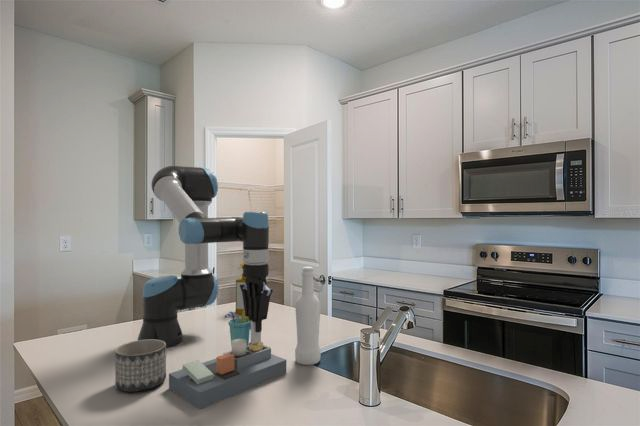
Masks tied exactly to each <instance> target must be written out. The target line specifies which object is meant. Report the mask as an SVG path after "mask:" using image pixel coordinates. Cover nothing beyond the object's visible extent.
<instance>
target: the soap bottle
mask: <svg viewBox="0 0 640 426" xmlns="http://www.w3.org/2000/svg"><path fill="white" fill-rule="evenodd" d="M244 264H245V263H244V262H243V263H241V264H240V265H239V267H238V268H237V269H238V270H239V269H241V270H243V265H244ZM245 279H246V277H244V276H243V273H241V277H239V278H238V279H235V314H236V315H242V312H243V311H244V304H243V296H242V291H241V288H240V285H241V284H244V283H245Z"/></svg>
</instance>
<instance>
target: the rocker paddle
mask: <svg viewBox="0 0 640 426" xmlns="http://www.w3.org/2000/svg"><path fill="white" fill-rule="evenodd" d="M202 363H203V362H201V361H200V360H199V359H196V360H193V361H189V362H186V363H183V364H182V369H183V370H184V371H185V372H186V373H187V374H188V375H189V376H190V377H191V378H192V379H193V380H194V381H195V382H196V383H197V384H200V383H203V382H206V381H209V380H211V379H213V375H214V374H213V373H212V372H211V371H210V370H209V369H208V368H207V367H205V366H204V365H203V364H202ZM182 369H181V370H182Z"/></svg>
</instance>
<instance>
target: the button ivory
mask: <svg viewBox="0 0 640 426" xmlns="http://www.w3.org/2000/svg"><path fill="white" fill-rule="evenodd" d="M231 351H232V355H234V356H242V355H245V354H246V353H247V340H246V339H235V340H232V347H231Z"/></svg>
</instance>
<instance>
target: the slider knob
mask: <svg viewBox="0 0 640 426" xmlns="http://www.w3.org/2000/svg"><path fill="white" fill-rule="evenodd" d="M215 359H216V372H217V373H219V374H221V375H222V374H224V373H227V372H230V371H233V370H234V355H232V354H230V353H228V354H225V355H223V354H221V355H219V356H216V358H215Z"/></svg>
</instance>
